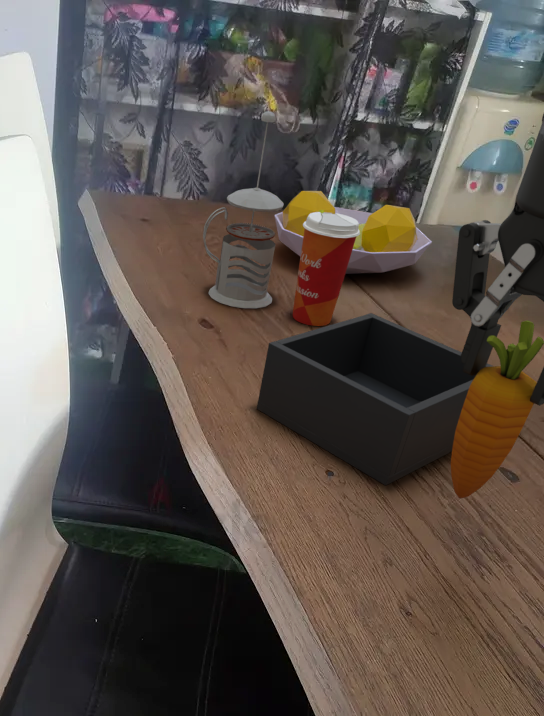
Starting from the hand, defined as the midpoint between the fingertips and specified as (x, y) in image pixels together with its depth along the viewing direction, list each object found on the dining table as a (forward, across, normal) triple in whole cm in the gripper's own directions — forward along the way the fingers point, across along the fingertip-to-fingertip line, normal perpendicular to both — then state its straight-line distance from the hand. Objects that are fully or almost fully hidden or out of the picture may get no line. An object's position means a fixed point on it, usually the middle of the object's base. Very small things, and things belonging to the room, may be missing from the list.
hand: (505, 385), depth 55 cm
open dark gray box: (+17, +18, -14) cm, 28 cm away
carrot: (+11, 0, 0) cm, 11 cm away
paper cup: (+17, +42, -32) cm, 55 cm away
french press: (+17, +54, -28) cm, 63 cm away
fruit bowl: (+17, +57, -57) cm, 82 cm away
